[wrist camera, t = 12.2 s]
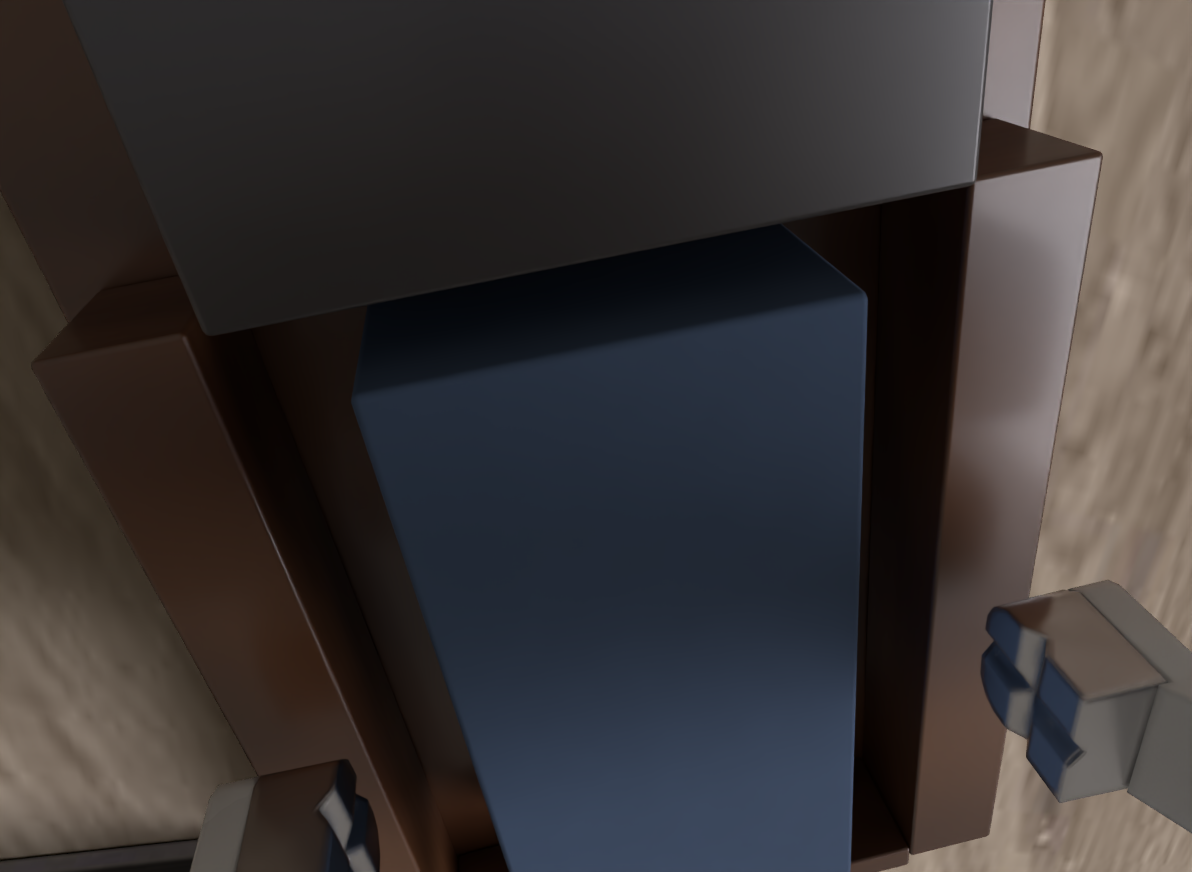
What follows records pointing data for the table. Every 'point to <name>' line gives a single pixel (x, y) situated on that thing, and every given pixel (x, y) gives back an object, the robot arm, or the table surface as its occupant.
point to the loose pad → (638, 546)
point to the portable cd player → (113, 860)
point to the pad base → (327, 537)
